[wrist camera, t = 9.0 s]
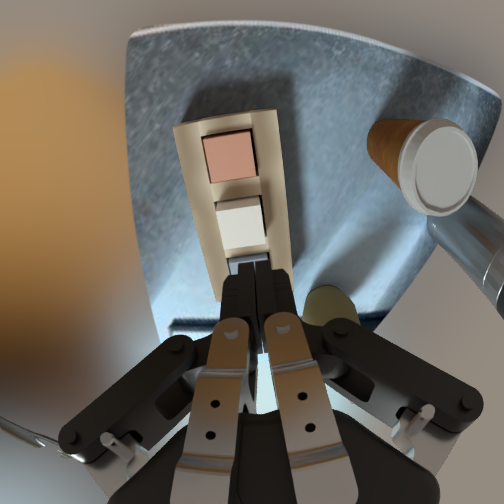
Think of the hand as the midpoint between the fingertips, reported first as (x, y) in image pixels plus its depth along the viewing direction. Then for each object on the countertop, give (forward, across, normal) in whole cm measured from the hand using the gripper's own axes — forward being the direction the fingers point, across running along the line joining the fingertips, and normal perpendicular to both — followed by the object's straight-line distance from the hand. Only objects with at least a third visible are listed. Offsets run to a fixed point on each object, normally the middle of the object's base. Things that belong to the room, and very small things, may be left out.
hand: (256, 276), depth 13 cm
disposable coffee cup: (+21, -17, -2) cm, 27 cm away
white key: (+18, +2, +5) cm, 19 cm away
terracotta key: (+19, +2, -2) cm, 20 cm away
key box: (+21, +2, +5) cm, 21 cm away
